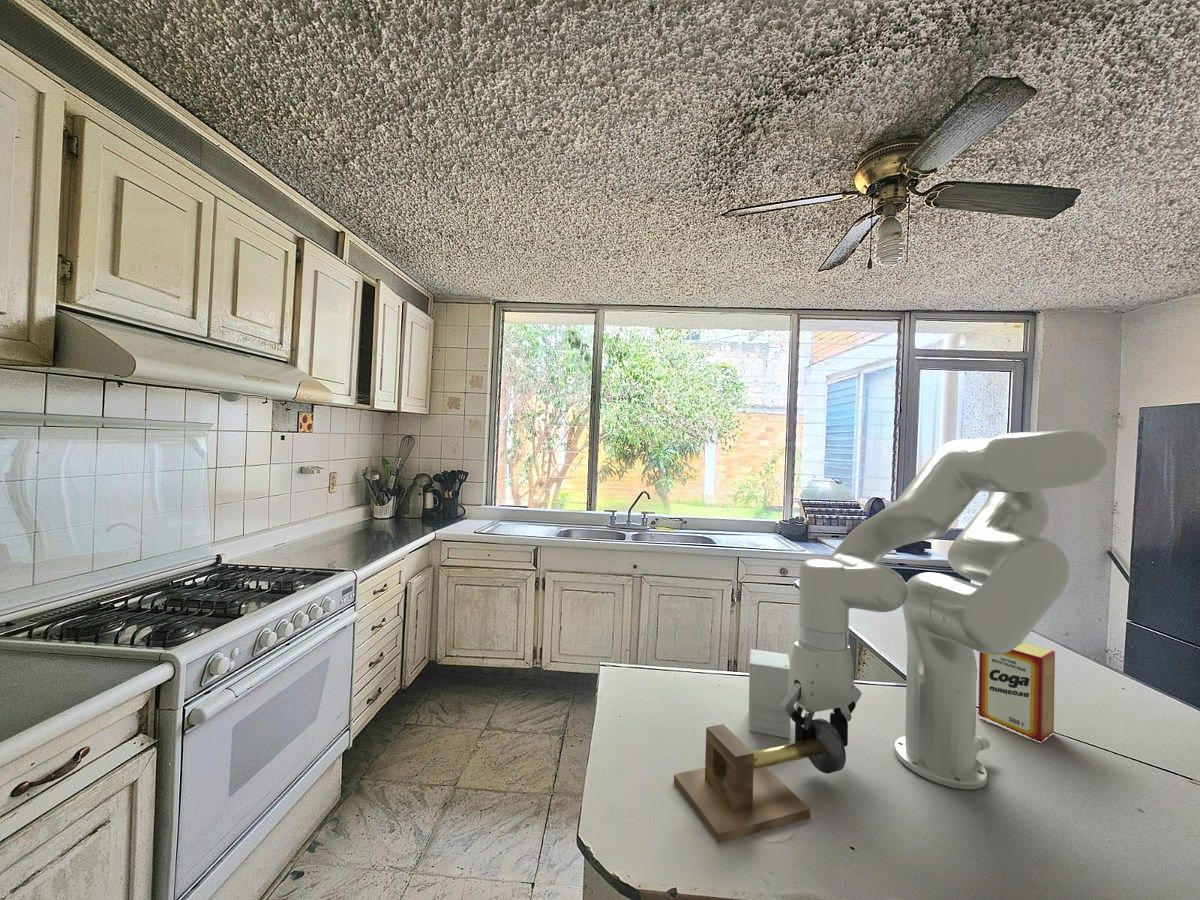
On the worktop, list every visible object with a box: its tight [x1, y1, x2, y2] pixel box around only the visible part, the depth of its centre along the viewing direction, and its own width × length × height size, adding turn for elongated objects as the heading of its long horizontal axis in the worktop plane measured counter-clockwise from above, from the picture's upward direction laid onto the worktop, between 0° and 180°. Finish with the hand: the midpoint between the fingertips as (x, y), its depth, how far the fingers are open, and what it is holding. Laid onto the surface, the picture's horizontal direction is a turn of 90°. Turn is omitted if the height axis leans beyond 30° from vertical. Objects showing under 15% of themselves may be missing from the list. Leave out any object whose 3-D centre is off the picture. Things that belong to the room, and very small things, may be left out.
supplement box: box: [748, 648, 791, 740], centre depth 89 cm, size 7×7×13 cm
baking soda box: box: [978, 641, 1056, 742], centre depth 92 cm, size 10×6×16 cm
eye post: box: [673, 723, 811, 844], centre depth 69 cm, size 15×12×9 cm
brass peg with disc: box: [751, 718, 847, 775], centre depth 72 cm, size 17×7×7 cm, turn 110°
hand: (821, 744), depth 78 cm, fingers open, 6 cm apart
